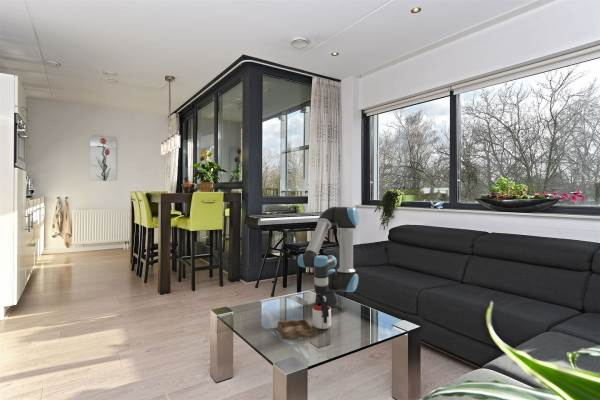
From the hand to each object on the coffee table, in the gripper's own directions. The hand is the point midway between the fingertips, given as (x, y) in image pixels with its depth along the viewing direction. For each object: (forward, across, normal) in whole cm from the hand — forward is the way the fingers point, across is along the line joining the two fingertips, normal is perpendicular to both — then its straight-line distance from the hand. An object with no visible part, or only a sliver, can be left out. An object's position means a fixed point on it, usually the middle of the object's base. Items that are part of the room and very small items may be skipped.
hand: (321, 324), depth 194 cm
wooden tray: (+2, 0, -15) cm, 15 cm away
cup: (+1, 0, 0) cm, 1 cm away
